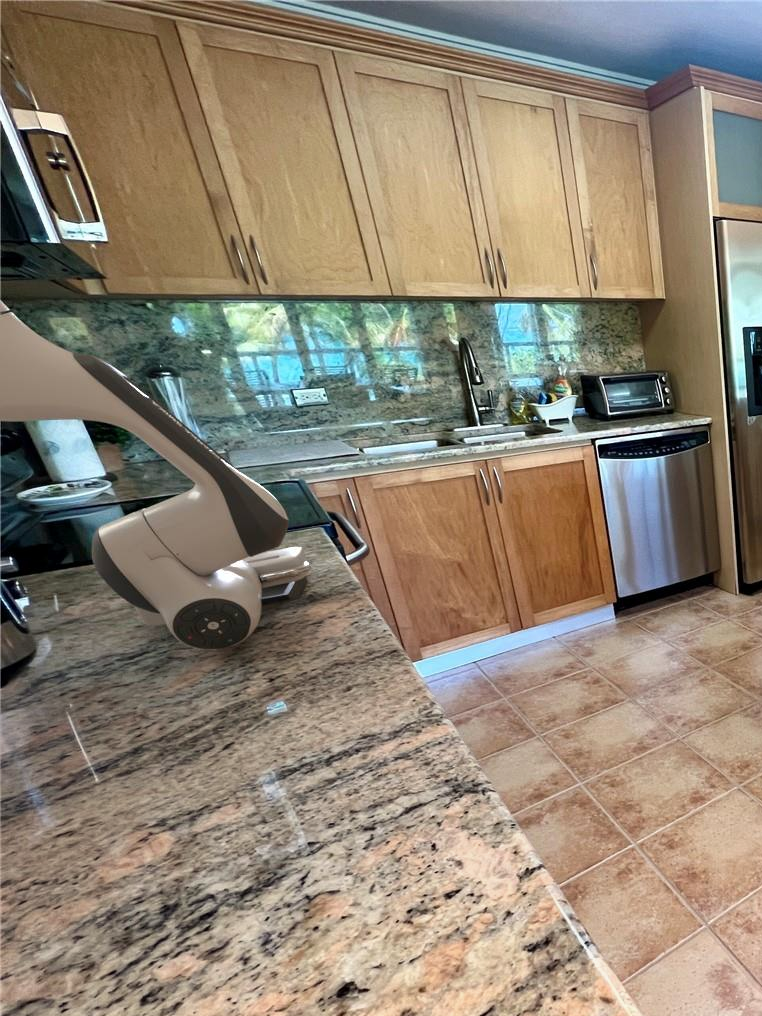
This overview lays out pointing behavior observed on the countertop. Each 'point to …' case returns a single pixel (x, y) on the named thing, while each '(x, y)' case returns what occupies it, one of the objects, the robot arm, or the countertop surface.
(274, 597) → the tray
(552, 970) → the countertop surface
